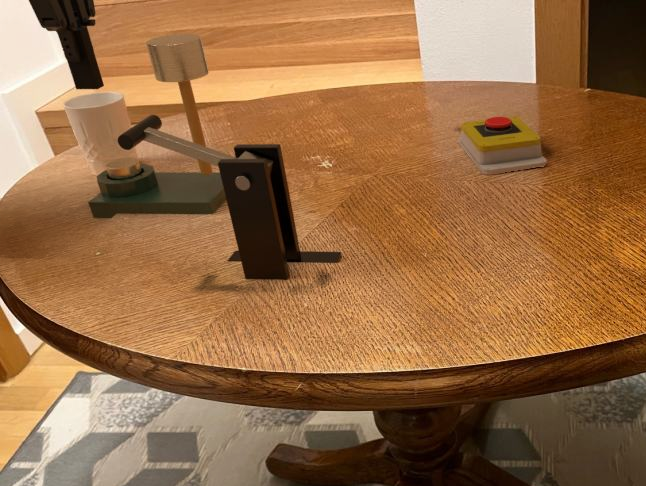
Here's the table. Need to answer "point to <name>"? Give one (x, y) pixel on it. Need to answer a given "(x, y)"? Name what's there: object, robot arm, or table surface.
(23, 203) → the table surface
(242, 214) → the brown bracket stand
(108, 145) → the white cup
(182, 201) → the lamp base
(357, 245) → the table surface
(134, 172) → the lamp button
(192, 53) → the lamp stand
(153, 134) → the lever
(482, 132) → the emergency button
